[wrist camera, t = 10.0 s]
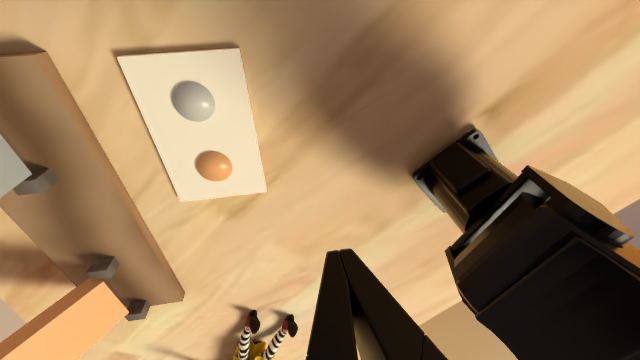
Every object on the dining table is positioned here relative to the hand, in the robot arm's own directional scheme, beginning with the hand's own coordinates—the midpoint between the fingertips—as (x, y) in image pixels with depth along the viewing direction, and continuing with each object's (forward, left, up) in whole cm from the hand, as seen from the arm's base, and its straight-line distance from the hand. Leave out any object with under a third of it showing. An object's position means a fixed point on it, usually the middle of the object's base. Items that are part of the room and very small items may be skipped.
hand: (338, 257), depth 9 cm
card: (+4, +6, -13) cm, 15 cm away
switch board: (+7, +18, -13) cm, 24 cm away
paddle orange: (+1, +24, -11) cm, 26 cm away
